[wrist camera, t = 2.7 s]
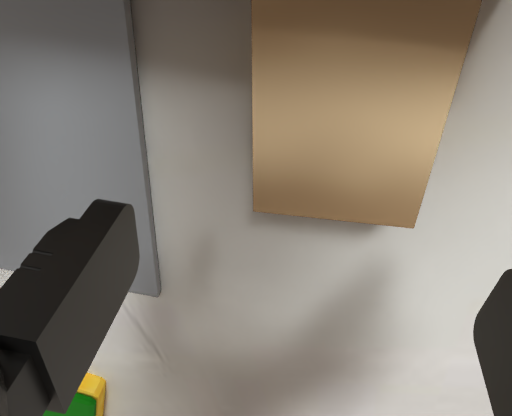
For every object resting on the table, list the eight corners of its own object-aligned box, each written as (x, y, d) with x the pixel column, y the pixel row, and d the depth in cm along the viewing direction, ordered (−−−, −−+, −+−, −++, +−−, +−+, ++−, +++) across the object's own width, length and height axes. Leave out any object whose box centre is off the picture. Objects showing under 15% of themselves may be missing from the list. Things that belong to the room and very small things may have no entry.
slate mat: (-171, -102, 14) (-185, -101, 14) (122, -70, 13) (115, -68, 13) (-7, 259, 25) (-13, 266, 25) (161, 290, 24) (158, 297, 24)
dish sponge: (-76, 317, 32) (-102, 346, 30) (108, 373, 32) (93, 404, 30) (-56, 365, 36) (-78, 393, 34) (104, 413, 37) (92, 443, 35)
